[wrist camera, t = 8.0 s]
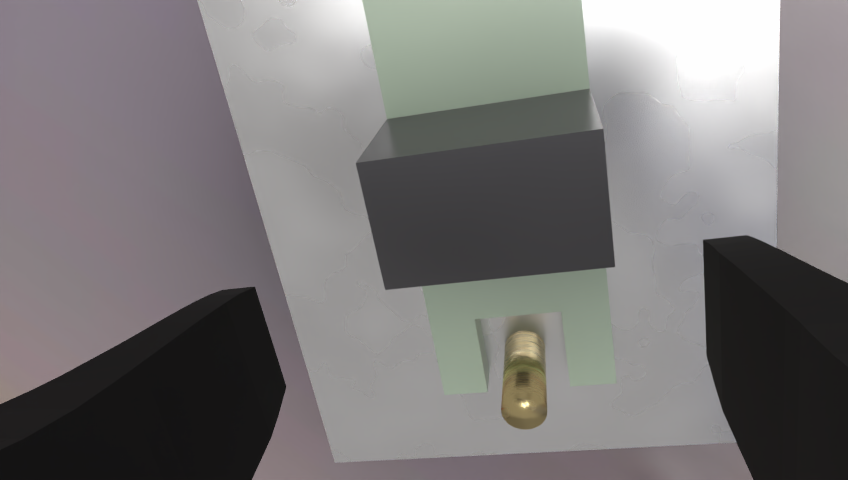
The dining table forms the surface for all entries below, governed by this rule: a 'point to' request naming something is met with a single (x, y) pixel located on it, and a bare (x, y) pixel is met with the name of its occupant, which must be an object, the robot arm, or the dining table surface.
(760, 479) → the robot arm
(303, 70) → the chassis
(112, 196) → the dining table surface
